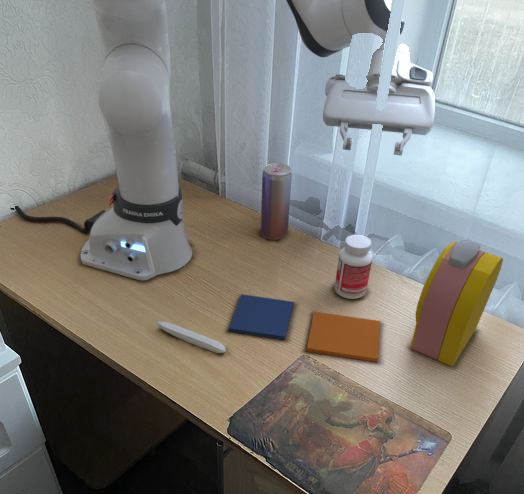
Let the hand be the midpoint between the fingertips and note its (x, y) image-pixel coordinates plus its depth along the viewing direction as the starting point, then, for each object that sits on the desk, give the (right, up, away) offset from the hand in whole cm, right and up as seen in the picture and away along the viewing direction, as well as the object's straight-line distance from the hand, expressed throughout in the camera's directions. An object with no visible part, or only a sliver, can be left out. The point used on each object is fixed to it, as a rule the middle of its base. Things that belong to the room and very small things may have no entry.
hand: (372, 151), depth 99 cm
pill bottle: (-3, -25, +5) cm, 26 cm away
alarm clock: (+11, -35, -5) cm, 37 cm away
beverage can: (-18, -11, +19) cm, 28 cm away
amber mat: (-6, -35, -5) cm, 36 cm away
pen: (-33, -35, -7) cm, 49 cm away
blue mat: (-20, -31, -2) cm, 37 cm away
